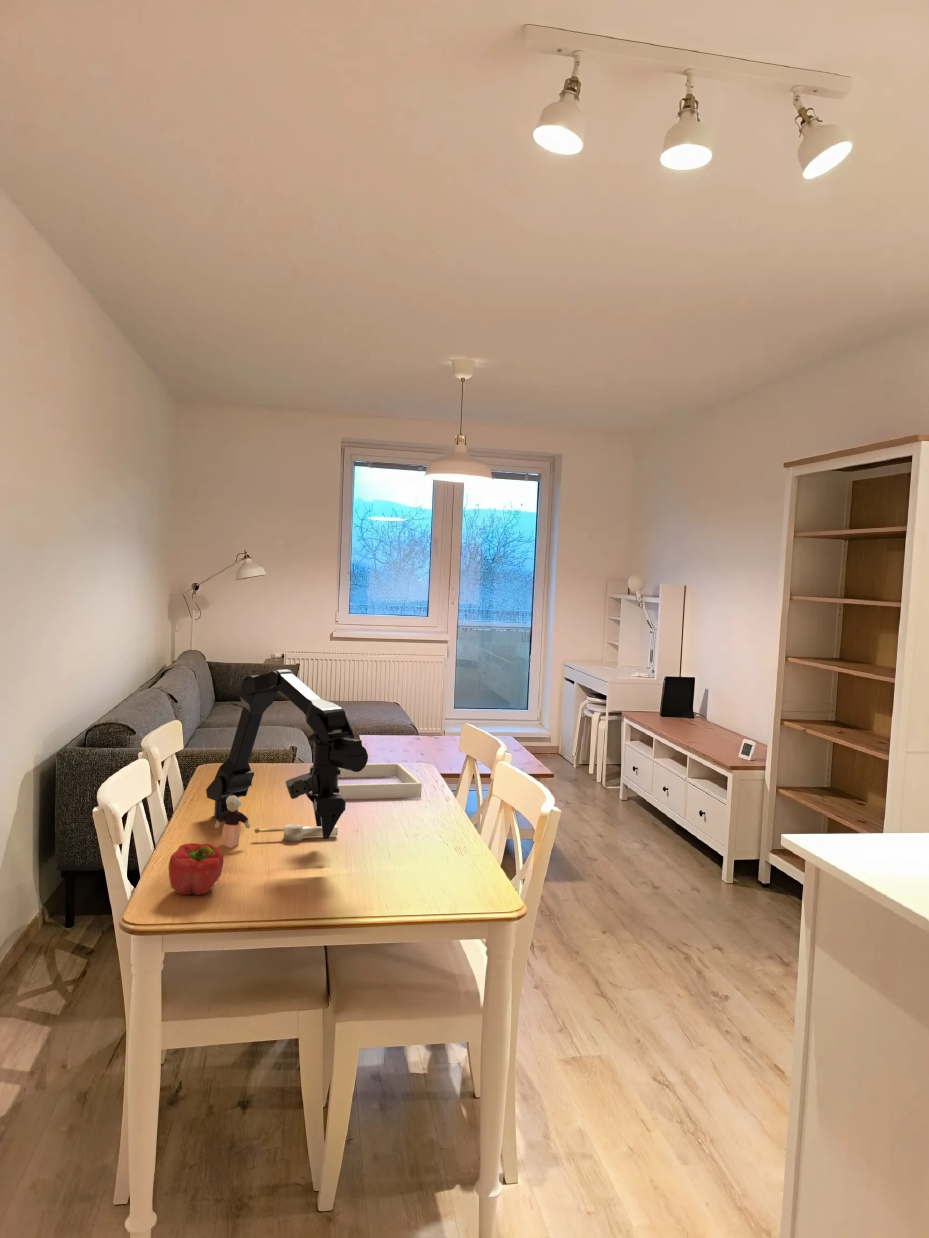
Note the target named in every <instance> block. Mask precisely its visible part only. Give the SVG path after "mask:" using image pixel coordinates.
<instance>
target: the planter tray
mask: <svg viewBox="0 0 929 1238" xmlns="http://www.w3.org/2000/svg"><path fill="white" fill-rule="evenodd" d="M339 769H340V770H341V771H340V775H338V779H339V778H381V777H382V776H392V777H396V778H398V779H399V781H401V782H399V783H398V782H395V783H392V782H391V783H352V784H351V783H350V784H346V783H345V784H338V787H339V793H333V794H339V795H340V796H341V797H342V798H343V799H344V800H366V799H367V800H369V799H398V798H399V799H401V798H421V797H422V790H423V789H422V788H423V784H422V782H421V781H420V780H419V779H417V778H416V776H414V775H413V774H412V773H411V772H410V771H408V770H407V769H406V768H405V767H404V766H403V765H402V764H401V763H400V762H399V763H390V762H389V763H367V764H366V766H365V767H364V768H363V769H362V770H361V771H359V772H353V771H350V770H346V769H343V768H339ZM382 778H383V777H382Z"/></svg>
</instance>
